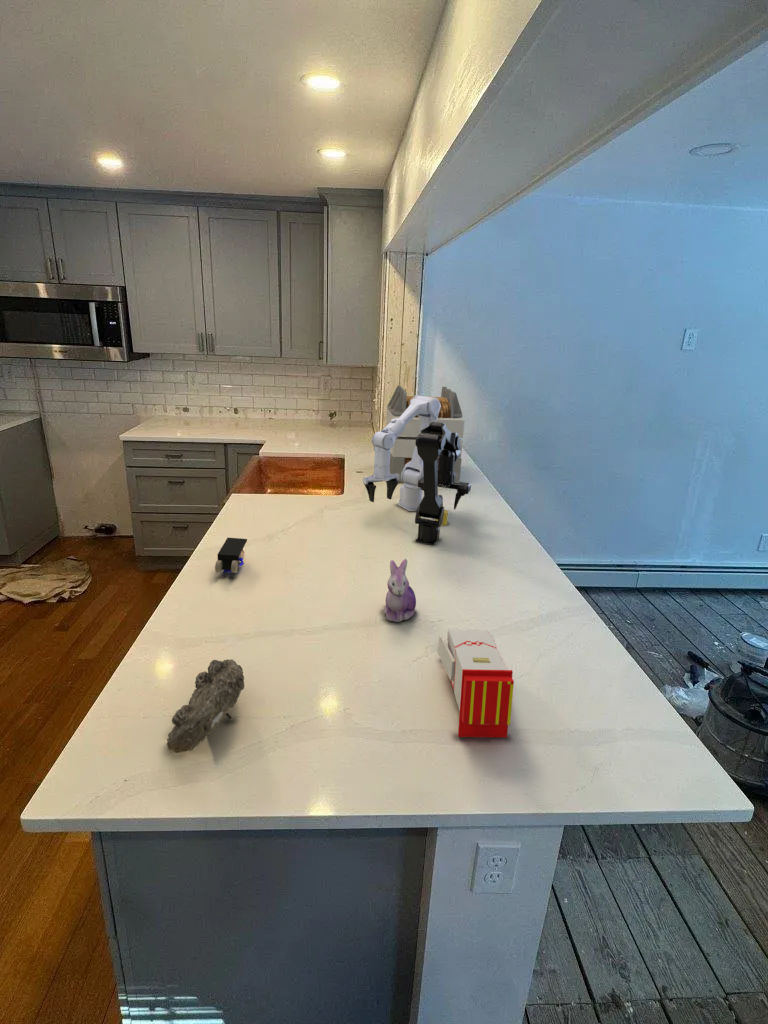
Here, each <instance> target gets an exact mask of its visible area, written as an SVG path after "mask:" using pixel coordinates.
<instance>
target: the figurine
mask: <svg viewBox="0 0 768 1024" xmlns="http://www.w3.org/2000/svg"><path fill="white" fill-rule="evenodd" d="M407 567H408V559H406V558H404V559H403V560H402V561H401V563H400V565H399V566H398V565H397V563H396V562H395V561H394V560H393V559H391V560H390V561H389V570H390V576H389V578H388V579H387V589H388V591H387V592H386V594H385V595H386V596H385V607H384V615H385V616H386V620H387V621H391V622H395V623H400V622H402V621H406V620H409V619H410V618H411V617H413V616H414V615H415V610H416V606H417V597H416V593H415V591H414V590H413V587H411V586H410V582H409V579H408V577H407V574H406V571H407Z"/></svg>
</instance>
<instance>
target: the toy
mask: <svg viewBox="0 0 768 1024" xmlns="http://www.w3.org/2000/svg"><path fill="white" fill-rule="evenodd" d="M446 640H447V643H446V641H445V639H444V636H443V635H442V634H439V637H438V646H437V656H438V657H439V659H440V661H441V663H442V666H443V668H444V670H445V672H446V674H447V677H448V679H449V681H450V684H451V687H452V690H453V693H454V697H455V701H456V705H457V708H458V711H459V714H458V715H459V716H458V730H457V731H458V732H457V737H458V738H508V731H509V726H510V725H511V717H512V707H513V697H514V696H513V695H514V684H515V680H514V679H513V673H514V671H513V670H512V669H508V667H507V665H506V662H505V661H504V659H503V658H502V655H501V653H500V651H499V649H498V647H497V643H496V639H495V637H494V635H493V634H491V632H490V631H489V629H467V628H466V629H465V628H463V629H461V628H460V629H459V628H448V630H447V639H446Z"/></svg>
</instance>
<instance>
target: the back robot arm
mask: <svg viewBox="0 0 768 1024" xmlns="http://www.w3.org/2000/svg"><path fill="white" fill-rule="evenodd" d="M431 397H432V396H425V395H421V394H416V395H414V397H413V399H411V401H410V406H409V407H408V408H407V409H406V410H405V411H404V412H403V414H402V415H401V416H400V417H399V418H398V419H396V418H395V419H392V420H391V422H390V423H389V424H388V425H387V424H386V426H385V427H383V428H382V429H381V431H380V430H378V431H376V432H374V434H373V435H372V439H370V440H371V441H370V442H371V445H372V447H373V451H374V458H373V459H374V461H373V462H374V463H373V475H369V476H366V477H363V478H362V483H363V485H364V487H365V489H366V492H367V495H368V500H369V502H370V503H374V502H375V495H376V494H375V493H376V488H377V485H376V484H375V483H380V482H385V483H386V499H388V500H392V499H393V495H394V492H395V490H396V488H397V486H398V485H399V482H398V481H397V480H399V474H390V450H391V448H392V447H393V446H394V443H395V441H396V438H397V437H398V436H399V435H400V434H401V433H402V432H403V431H404V430H405V425H406V424H407V423H408V422H409V421H411V420H412V419H413V418H414V417H415V416H416V415H418V417H420V419H421V421H422V423H421V427H420V430H422V429H423V428H425V427H427V426H428V425H429V423H430V422H436V420H437V418H438V415H439V411H440V407H441V405H440V403H439V400H438V399H437V398H431ZM419 432H420V431H419ZM422 477H423V460H422V459H421V458H420V456H419V455H418V452H417V447H416V446H415V449H414V453H413V457H412V460H411V461H410V462H408V463H407V464H405V465H404V468H403V471H402V473H401V481H402V482H401V483H402V484H401V487H399V500H398V502H397V504H396V505H397V506H399V507H401V508H403V509H404V510H406V511H408V512H417V508H418V506H419V504H420V503H421V501H422V499H423V494H424V491H423V490H421V488H420V487H418V481H419V480H420V479H421V478H422Z"/></svg>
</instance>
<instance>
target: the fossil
mask: <svg viewBox="0 0 768 1024" xmlns="http://www.w3.org/2000/svg"><path fill="white" fill-rule="evenodd" d="M243 670H244V669H243V667H242V665H240V664H237V662H236V661H235V660H234V659H232V658H231V659H227V658H226V659H224V660H223V661H222V660H217V659H212V660H211V661H210V663H209V665H208V666H207V671H201V672H199V673H198V674H197V675H196V676H195V680H194V684H195V685H194V687H195V689H194V690H193V693H192V694H191V697H190V698H189V700H188V704H184V705H182V706H181V707H180V709H177V710H176V711H175V713H174V715H173V716H172V718H171V723H172V724H173V727H172V730H171V731H170V732H168V734H167V738H166V741H167V742H166V745H167V749H168V750H169V751H173V752H174V753H176V754H178V753H182V752H188V751H189V752H192V751H193V750H195V748H196V747H197V746H199V744H200V743H201V742H203V741H204V740H205V739H206V738H207V737H208V736H209V735H210V734H211V733H212V732H214V730H215V729H217V727H218V726H219V724H220V722H221V721H222V720H223V719H224V718H225V716H226V717H227V719H229V720H233V717H232V715H230V714H229V710H230V709H231V708H234V706H235V704H236V703H237V702H238V699H239V697H240V695H241V693H242V691H243V690H245V689H244V688H245V675H244V671H243Z"/></svg>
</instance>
